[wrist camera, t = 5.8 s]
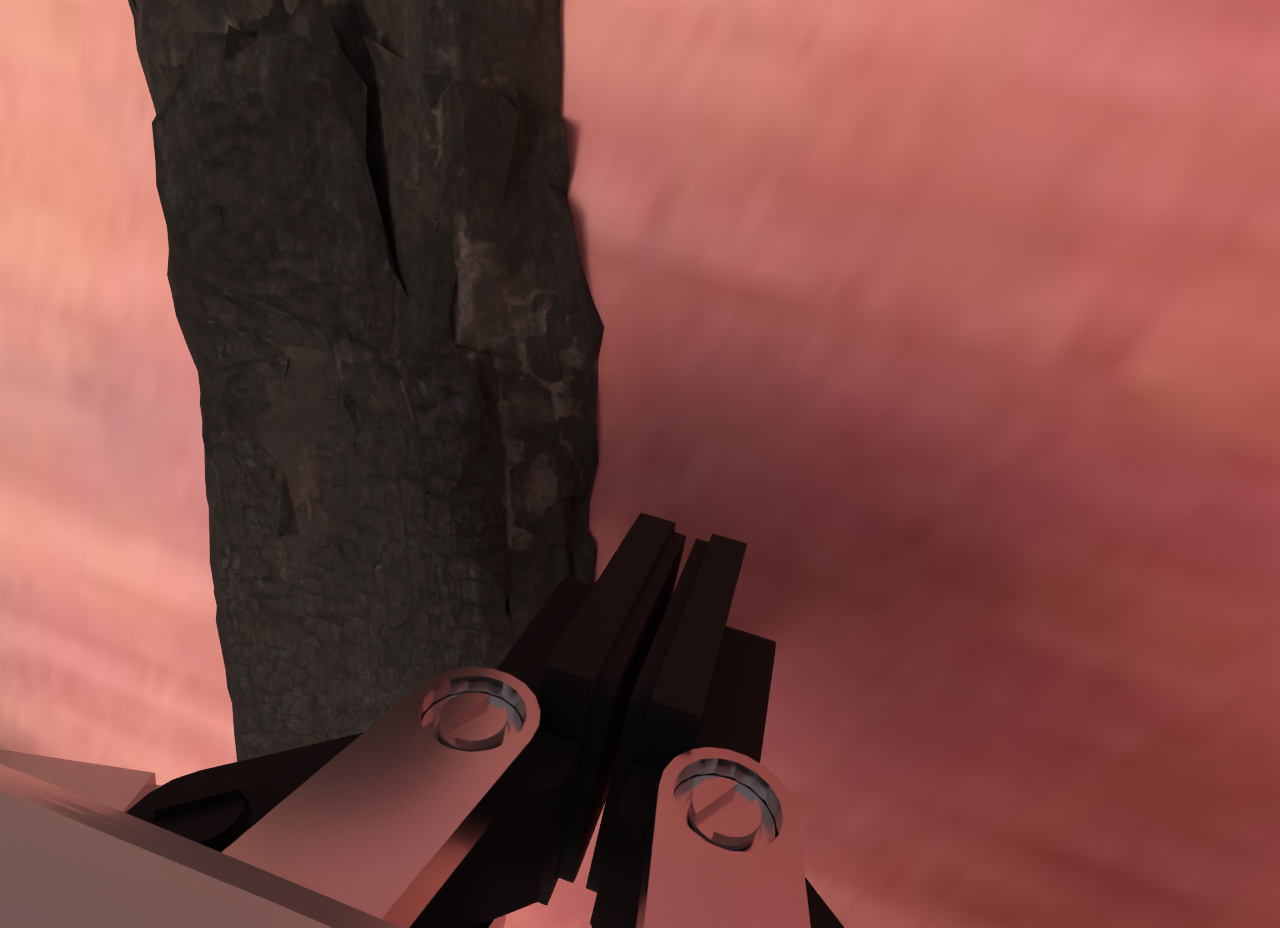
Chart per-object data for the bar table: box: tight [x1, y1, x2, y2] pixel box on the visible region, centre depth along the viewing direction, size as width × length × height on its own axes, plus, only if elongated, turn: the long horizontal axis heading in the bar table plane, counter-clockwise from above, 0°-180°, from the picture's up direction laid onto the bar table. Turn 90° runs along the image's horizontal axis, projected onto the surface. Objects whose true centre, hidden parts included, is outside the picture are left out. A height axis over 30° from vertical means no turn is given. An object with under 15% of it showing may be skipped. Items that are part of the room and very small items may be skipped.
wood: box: [128, 0, 604, 762], centre depth 12 cm, size 22×7×3 cm, turn 173°
